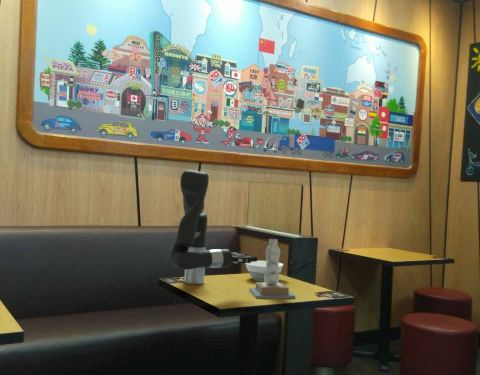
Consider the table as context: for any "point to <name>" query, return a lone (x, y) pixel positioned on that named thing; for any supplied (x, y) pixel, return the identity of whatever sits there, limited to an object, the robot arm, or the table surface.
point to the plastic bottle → (272, 263)
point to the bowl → (259, 269)
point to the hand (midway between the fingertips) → (251, 257)
